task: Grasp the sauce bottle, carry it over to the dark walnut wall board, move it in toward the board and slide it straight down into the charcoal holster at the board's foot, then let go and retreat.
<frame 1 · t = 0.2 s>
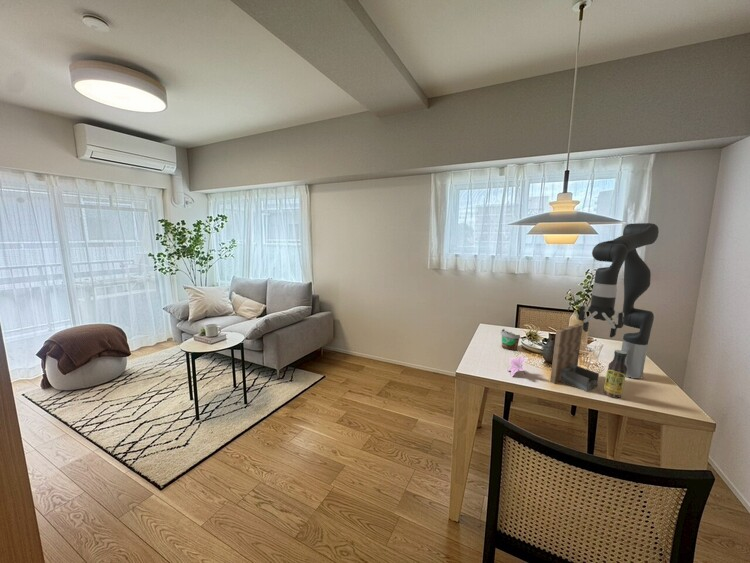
hand: (598, 334, 120), 29 cm above the table, fingers open, 8 cm apart
wall rack: (579, 383, 138), on the table
food container: (506, 348, 179), on the table
sauce bottle: (612, 395, 129), on the table
lily: (516, 374, 147), on the table
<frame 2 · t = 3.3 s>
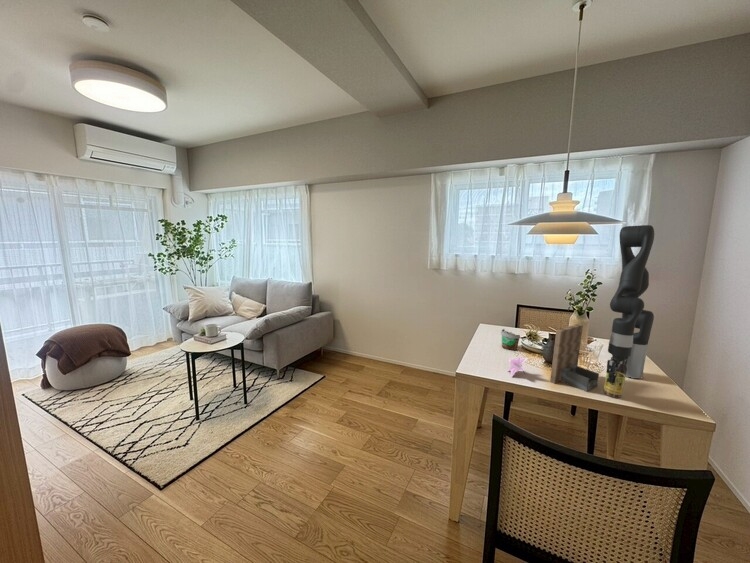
hand: (614, 380, 128), 7 cm above the table, fingers closed on sauce bottle, 6 cm apart
sauce bottle: (612, 395, 129), on the table, touching gripper
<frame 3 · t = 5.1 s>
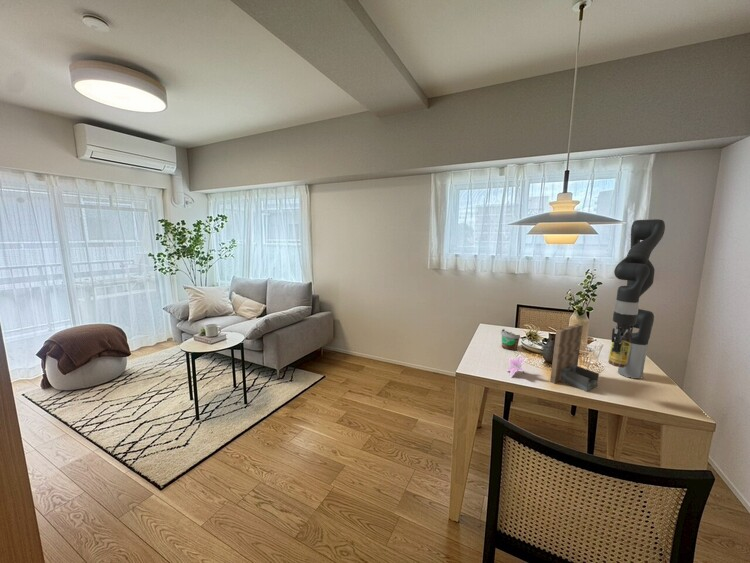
hand: (619, 350, 125), 20 cm above the table, fingers closed on sauce bottle, 6 cm apart
sauce bottle: (617, 365, 126), point 13 cm above the table, touching gripper
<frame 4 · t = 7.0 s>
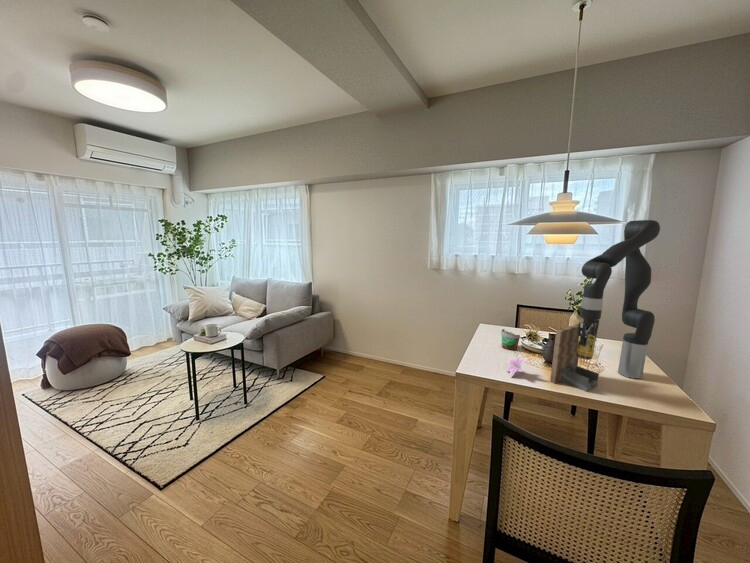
hand: (586, 343, 134), 20 cm above the table, fingers closed on sauce bottle, 6 cm apart
sauce bottle: (584, 358, 135), point 13 cm above the table, touching gripper
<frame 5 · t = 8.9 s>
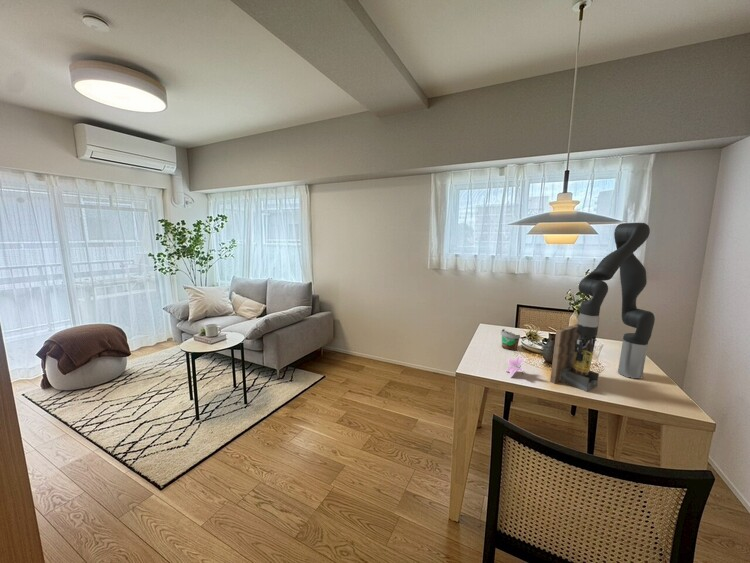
hand: (583, 359, 136), 12 cm above the table, fingers closed on sauce bottle, 6 cm apart
sauce bottle: (581, 373, 137), point 5 cm above the table, touching gripper
when the fingers open (8 cm above the table, at t = 10.5 s): sauce bottle drops 1 cm, resting in wall rack.
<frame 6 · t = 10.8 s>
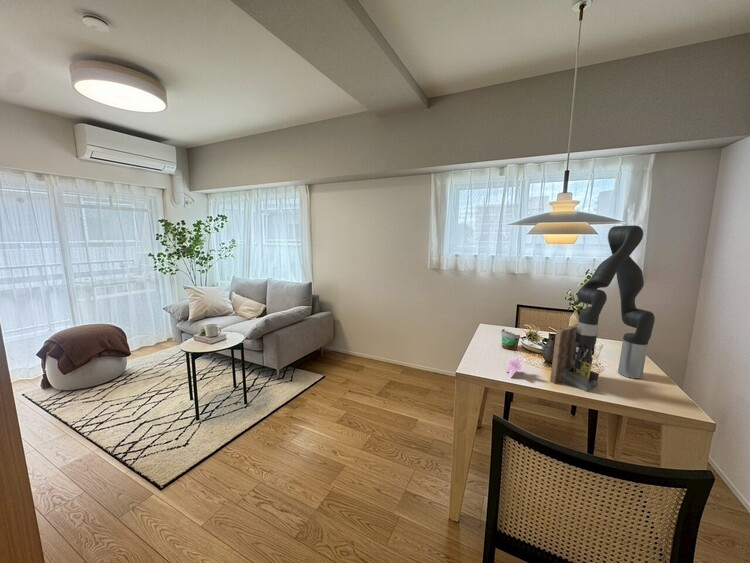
hand: (582, 366, 136), 9 cm above the table, fingers open, 8 cm apart
sauce bottle: (579, 384, 138), resting in wall rack
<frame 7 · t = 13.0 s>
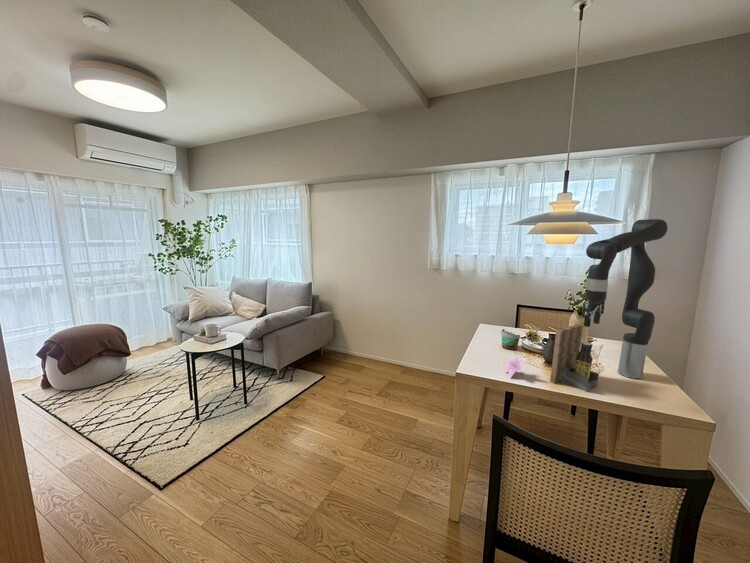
hand: (591, 325, 132), 28 cm above the table, fingers open, 8 cm apart
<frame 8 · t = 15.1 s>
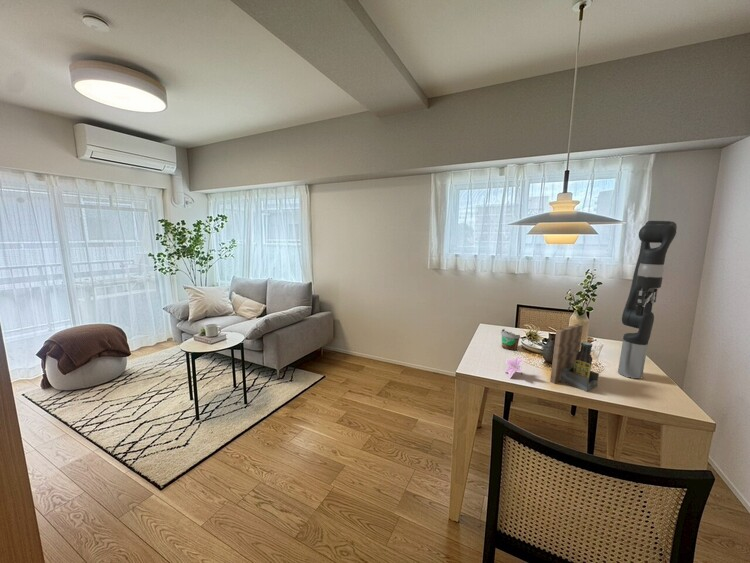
hand: (643, 314, 122), 36 cm above the table, fingers open, 8 cm apart
at the end: sauce bottle 0.2 cm off-centre on the wall rack, point 0.0 cm above the wall rack's base; sauce bottle tilted 0°; the gripper is holding nothing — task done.
